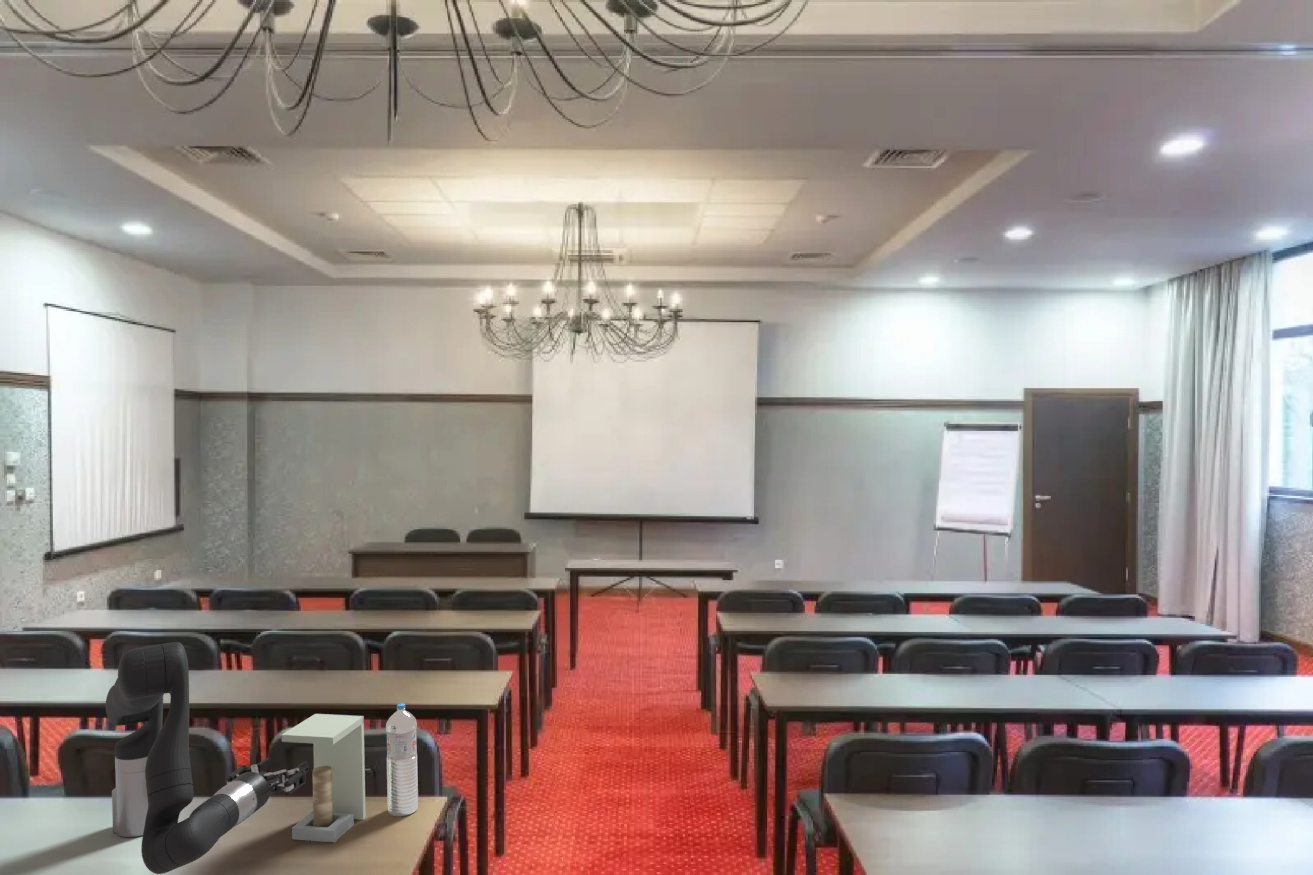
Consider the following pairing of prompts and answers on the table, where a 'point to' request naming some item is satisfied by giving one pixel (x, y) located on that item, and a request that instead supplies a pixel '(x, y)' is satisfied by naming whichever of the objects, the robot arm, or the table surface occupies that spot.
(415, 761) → the water bottle
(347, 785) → the socket stand
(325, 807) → the peg
